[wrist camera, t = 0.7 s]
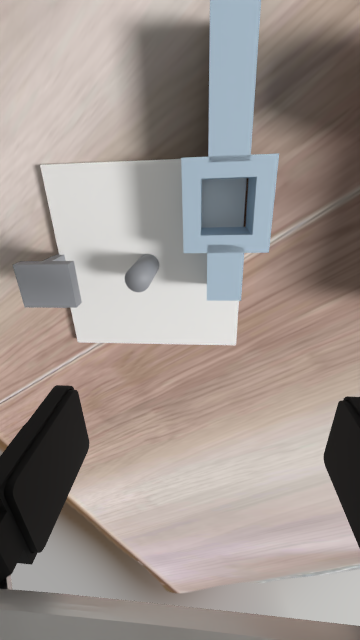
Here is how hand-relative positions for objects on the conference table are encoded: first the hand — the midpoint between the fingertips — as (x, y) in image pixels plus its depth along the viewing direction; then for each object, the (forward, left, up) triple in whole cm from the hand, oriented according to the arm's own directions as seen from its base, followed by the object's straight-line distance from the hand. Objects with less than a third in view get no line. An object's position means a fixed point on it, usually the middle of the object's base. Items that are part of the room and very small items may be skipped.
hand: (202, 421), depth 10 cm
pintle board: (0, -6, -23) cm, 24 cm away
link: (-9, +2, -22) cm, 24 cm away
